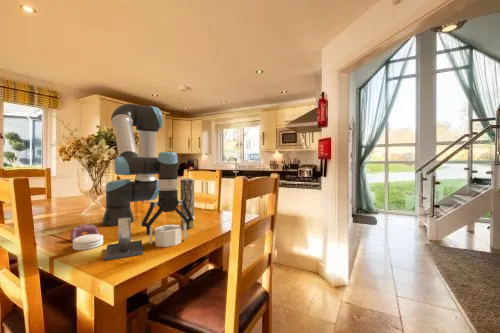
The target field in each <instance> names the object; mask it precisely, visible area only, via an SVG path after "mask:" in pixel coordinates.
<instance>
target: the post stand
mask: <svg viewBox="0 0 500 333" xmlns="http://www.w3.org/2000/svg"><path fill="white" fill-rule="evenodd" d="M117 226H118V229H117V230H118V231H117V232H118V238H117V239H118V240H117V242H118V243H110V244H107V245H106V248H105V253H104V255H103V256H104V258H103V259H104V261H110V260H116V259H122V258H129V257H135V256H140V255H141V256H142V255H144V247H143V240H142V239H140V240H134V241H131V236H132V234H131V227H132V226H131V223H130V217H122V218H119V219H118V225H117Z"/></svg>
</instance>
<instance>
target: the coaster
mask: <svg viewBox="0 0 500 333" xmlns="http://www.w3.org/2000/svg"><path fill="white" fill-rule="evenodd" d="M102 245H104V235H103V234H100V233H99V234H90V235H86V234H85V235H84V234H83V236H80V237H77V238H75V239H74V240H73V242H72V249H73V250H75V251H87V250H93V249H97V248H100V247H102Z"/></svg>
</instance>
